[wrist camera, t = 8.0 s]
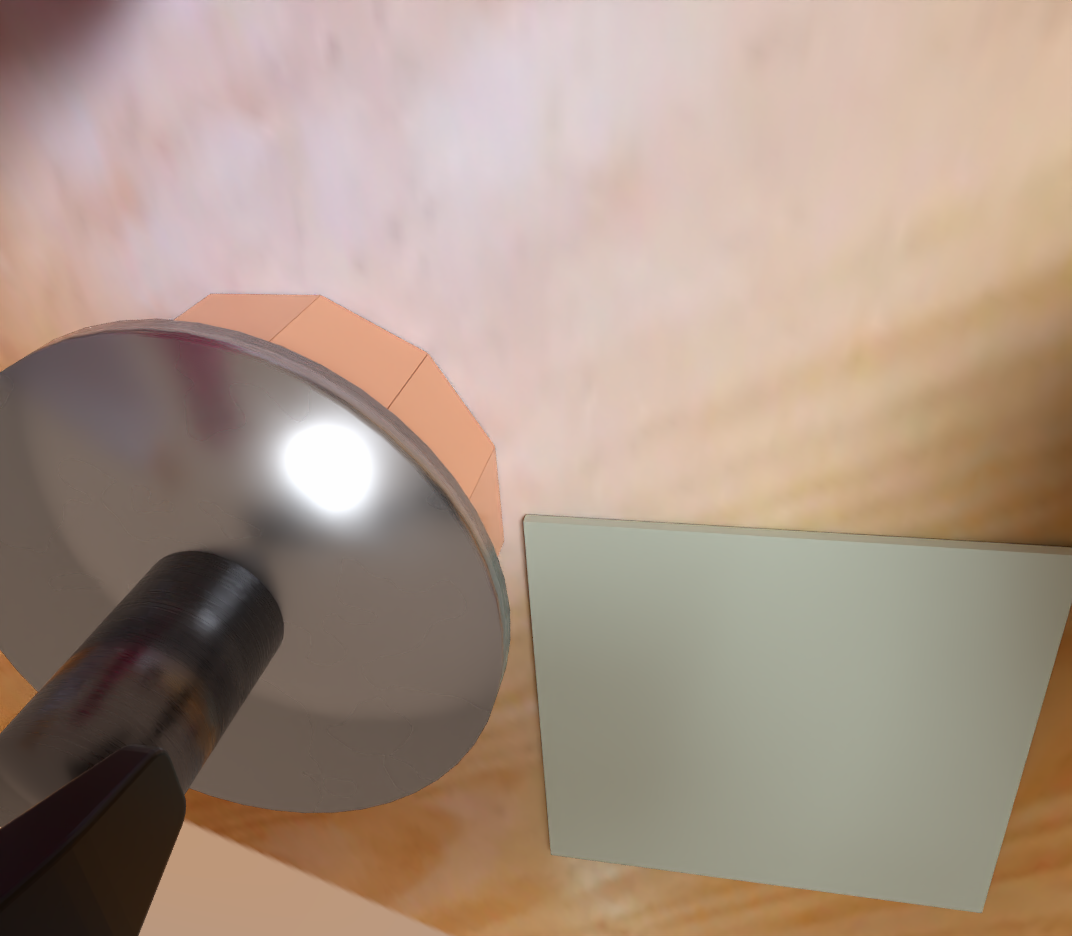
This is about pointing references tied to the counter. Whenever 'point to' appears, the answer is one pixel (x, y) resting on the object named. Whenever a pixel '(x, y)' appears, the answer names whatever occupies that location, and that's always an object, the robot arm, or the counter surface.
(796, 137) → the counter surface
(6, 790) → the lid
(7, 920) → the robot arm
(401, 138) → the counter surface
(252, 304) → the bowl
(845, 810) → the mat
